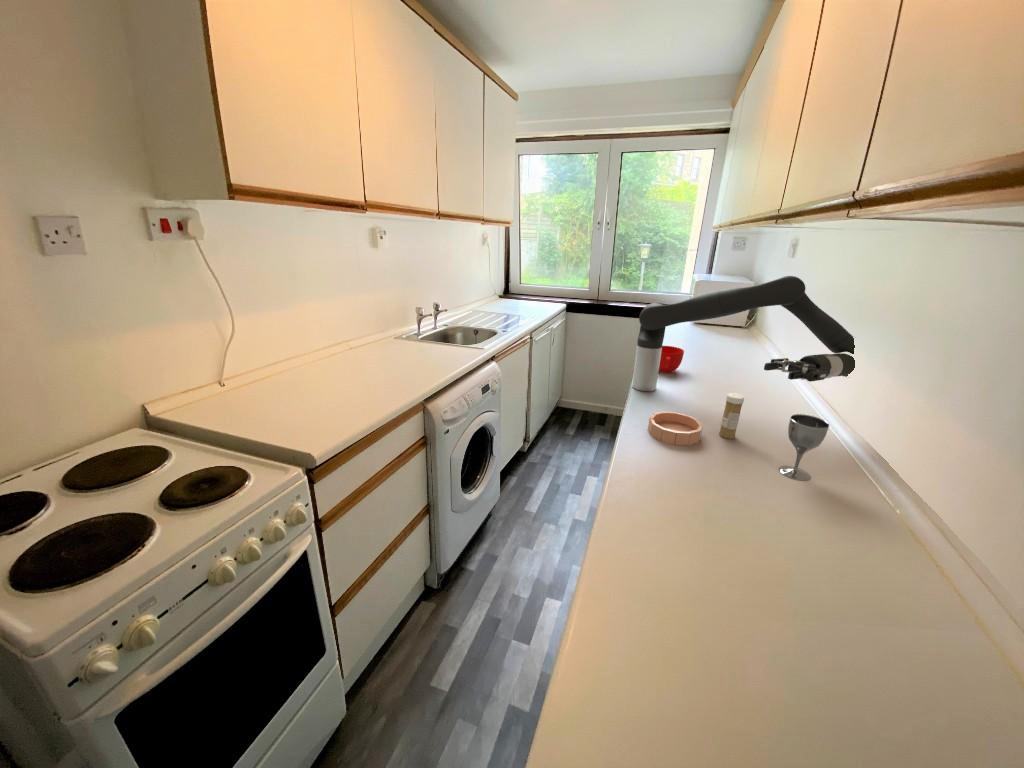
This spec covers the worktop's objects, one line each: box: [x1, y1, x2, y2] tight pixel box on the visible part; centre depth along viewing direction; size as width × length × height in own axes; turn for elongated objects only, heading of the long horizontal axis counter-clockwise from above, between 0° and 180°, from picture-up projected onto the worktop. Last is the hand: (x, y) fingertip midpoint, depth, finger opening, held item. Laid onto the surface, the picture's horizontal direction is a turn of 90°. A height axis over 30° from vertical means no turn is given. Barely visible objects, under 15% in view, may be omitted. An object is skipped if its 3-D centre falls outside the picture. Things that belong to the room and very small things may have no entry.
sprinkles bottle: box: [718, 392, 745, 440], centre depth 125 cm, size 5×5×13 cm
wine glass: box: [778, 413, 830, 482], centre depth 105 cm, size 8×8×15 cm
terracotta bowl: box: [647, 411, 704, 446], centre depth 127 cm, size 15×15×4 cm
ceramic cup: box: [658, 345, 685, 374], centre depth 182 cm, size 13×17×10 cm
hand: (777, 371), depth 122 cm, fingers open, 8 cm apart
